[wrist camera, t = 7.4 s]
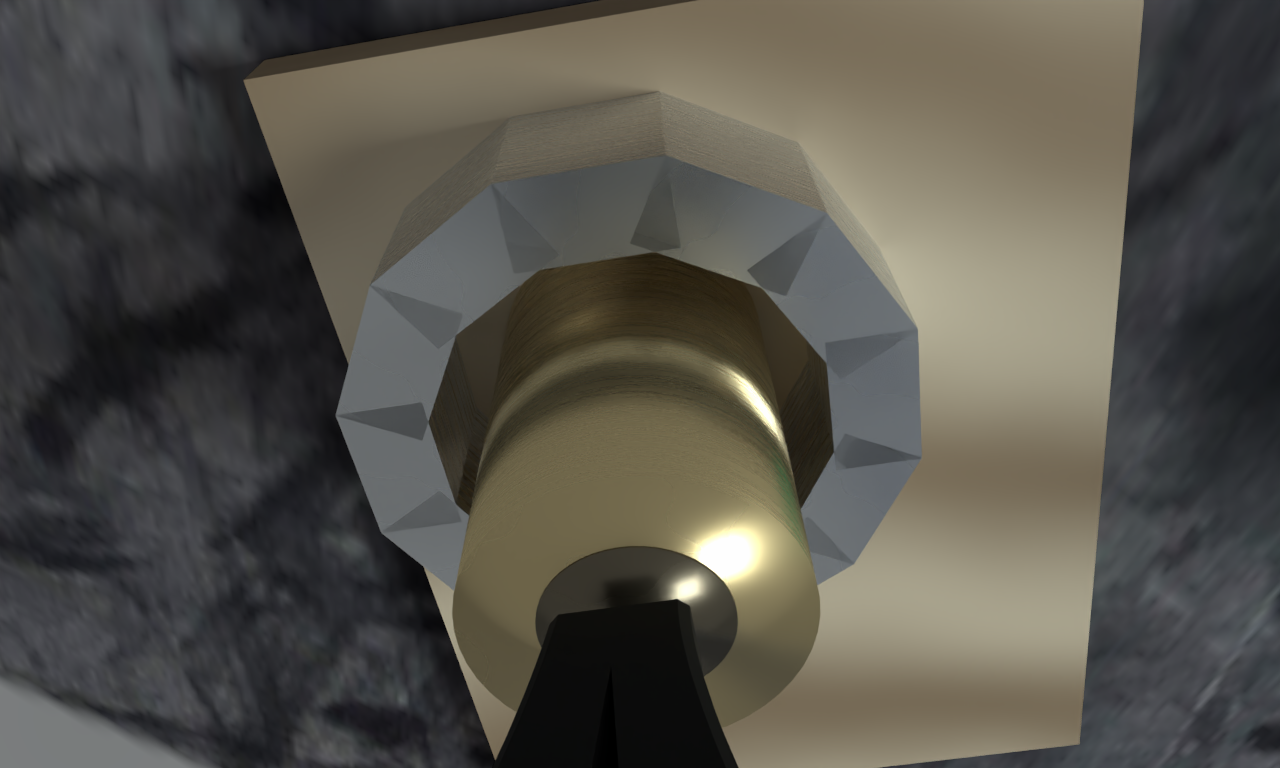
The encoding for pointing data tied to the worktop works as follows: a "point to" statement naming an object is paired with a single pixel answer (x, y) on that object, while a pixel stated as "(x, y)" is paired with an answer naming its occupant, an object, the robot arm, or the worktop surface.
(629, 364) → the brass sleeve
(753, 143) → the bore collar
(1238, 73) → the worktop surface
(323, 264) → the jig plate
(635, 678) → the robot arm
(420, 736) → the worktop surface
